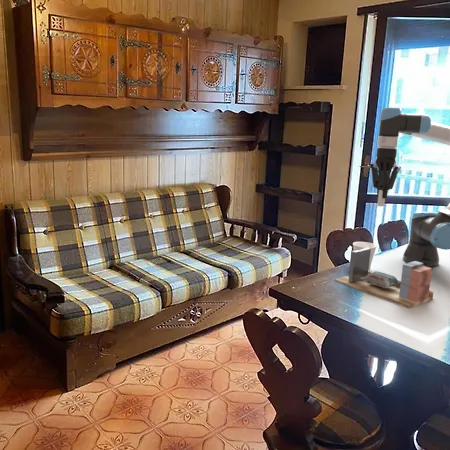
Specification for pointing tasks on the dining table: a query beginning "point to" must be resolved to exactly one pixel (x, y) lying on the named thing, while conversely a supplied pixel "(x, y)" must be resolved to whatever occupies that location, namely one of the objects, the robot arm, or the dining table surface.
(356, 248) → the cup
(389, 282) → the packaged food
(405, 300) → the wooden book rack
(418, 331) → the dining table surface
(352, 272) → the bookend
